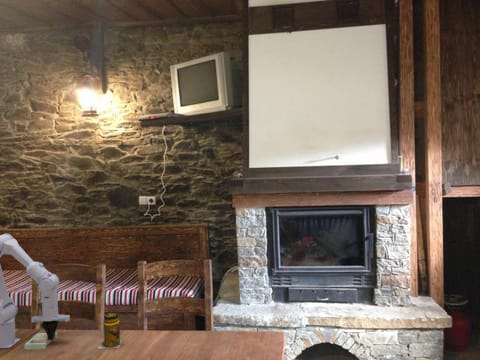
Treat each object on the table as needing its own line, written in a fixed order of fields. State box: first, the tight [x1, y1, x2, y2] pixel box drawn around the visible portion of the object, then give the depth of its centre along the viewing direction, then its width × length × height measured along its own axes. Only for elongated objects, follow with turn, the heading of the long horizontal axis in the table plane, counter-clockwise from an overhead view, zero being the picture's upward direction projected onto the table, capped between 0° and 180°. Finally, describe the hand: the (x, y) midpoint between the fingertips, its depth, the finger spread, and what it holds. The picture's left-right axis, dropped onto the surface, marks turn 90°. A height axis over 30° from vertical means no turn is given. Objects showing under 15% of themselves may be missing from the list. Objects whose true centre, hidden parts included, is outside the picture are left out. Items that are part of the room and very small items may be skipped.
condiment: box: [97, 312, 123, 350], centre depth 163 cm, size 7×8×12 cm
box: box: [23, 332, 58, 351], centre depth 165 cm, size 8×11×2 cm
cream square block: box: [33, 334, 52, 347], centre depth 165 cm, size 5×5×3 cm
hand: (51, 339), depth 165 cm, fingers closed
